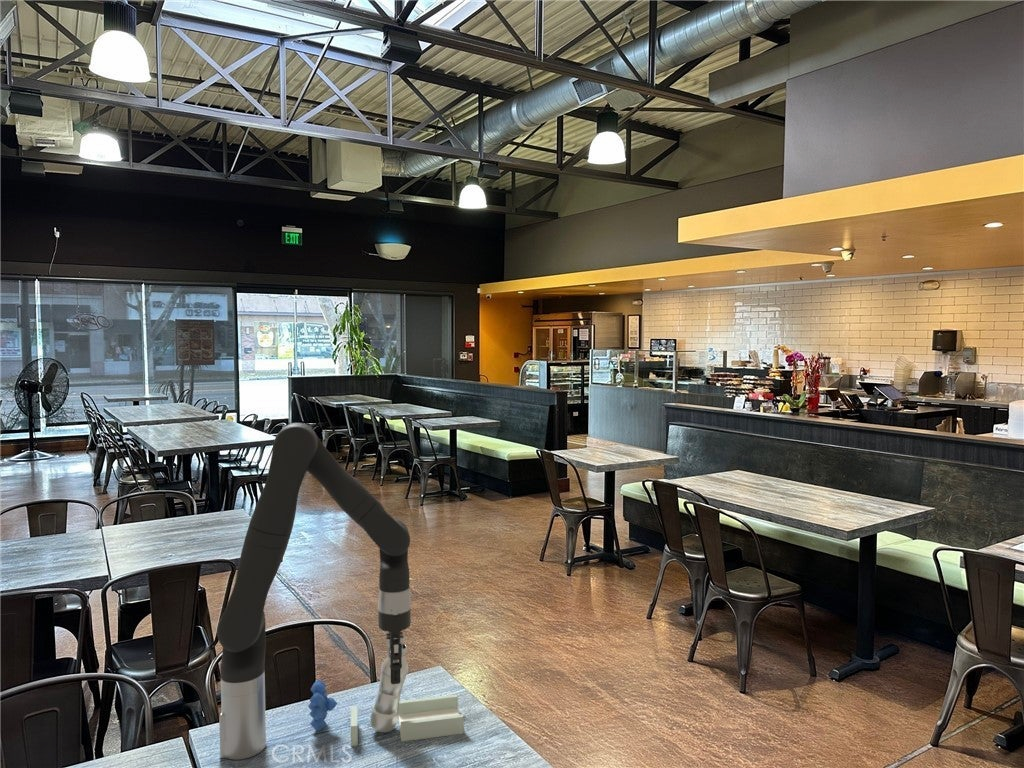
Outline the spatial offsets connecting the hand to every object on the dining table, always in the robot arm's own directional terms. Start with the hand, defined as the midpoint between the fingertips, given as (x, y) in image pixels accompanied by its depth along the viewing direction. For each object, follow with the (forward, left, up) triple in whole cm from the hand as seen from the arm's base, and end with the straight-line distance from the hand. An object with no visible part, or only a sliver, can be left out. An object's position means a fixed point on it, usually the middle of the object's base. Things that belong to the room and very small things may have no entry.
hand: (394, 676), depth 161 cm
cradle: (+9, 0, -13) cm, 16 cm away
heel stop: (-9, 0, -13) cm, 16 cm away
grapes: (-17, +4, -13) cm, 22 cm away
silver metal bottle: (-3, 0, -13) cm, 13 cm away
